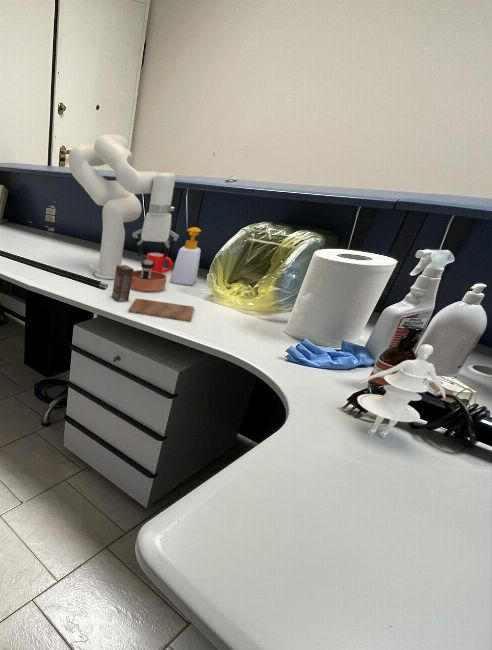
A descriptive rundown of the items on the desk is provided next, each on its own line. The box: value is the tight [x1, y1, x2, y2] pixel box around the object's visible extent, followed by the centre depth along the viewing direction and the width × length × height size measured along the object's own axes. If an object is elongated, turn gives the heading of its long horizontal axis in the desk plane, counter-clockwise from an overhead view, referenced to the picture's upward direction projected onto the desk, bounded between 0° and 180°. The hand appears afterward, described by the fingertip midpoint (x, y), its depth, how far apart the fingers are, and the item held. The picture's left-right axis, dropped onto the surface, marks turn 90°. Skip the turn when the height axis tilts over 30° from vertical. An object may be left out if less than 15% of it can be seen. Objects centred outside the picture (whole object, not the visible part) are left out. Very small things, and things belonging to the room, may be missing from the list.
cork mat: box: [128, 298, 194, 322], centre depth 143 cm, size 20×14×1 cm
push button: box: [140, 259, 155, 280], centre depth 164 cm, size 7×5×10 cm
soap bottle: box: [169, 226, 202, 286], centre depth 167 cm, size 10×14×22 cm
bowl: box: [130, 269, 168, 293], centre depth 166 cm, size 15×15×5 cm
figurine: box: [356, 343, 446, 440], centre depth 77 cm, size 13×10×20 cm
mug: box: [145, 252, 173, 274], centre depth 185 cm, size 8×12×8 cm, turn 57°
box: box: [111, 264, 135, 302], centre depth 151 cm, size 6×4×12 cm
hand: (151, 256), depth 161 cm, fingers open, 9 cm apart
